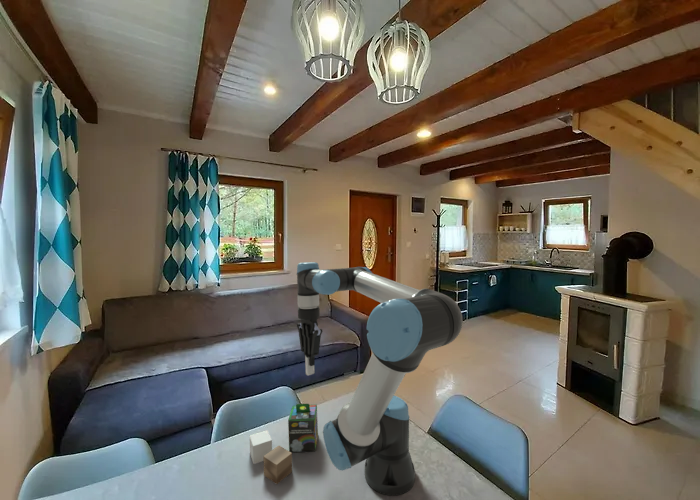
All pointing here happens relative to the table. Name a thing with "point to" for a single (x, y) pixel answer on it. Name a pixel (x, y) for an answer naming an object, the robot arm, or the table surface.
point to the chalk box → (303, 428)
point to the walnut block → (277, 464)
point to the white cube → (260, 446)
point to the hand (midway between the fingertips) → (310, 373)
